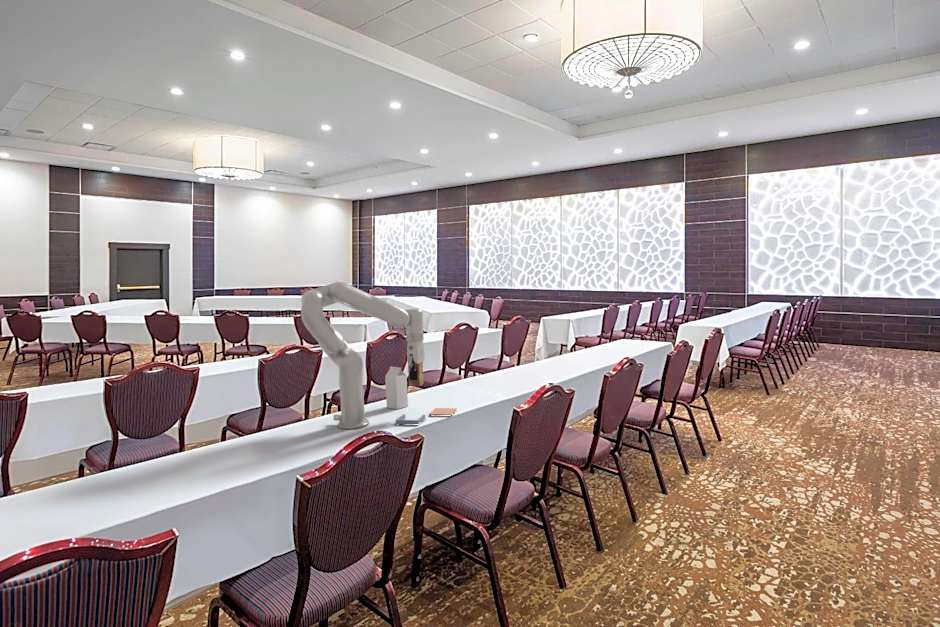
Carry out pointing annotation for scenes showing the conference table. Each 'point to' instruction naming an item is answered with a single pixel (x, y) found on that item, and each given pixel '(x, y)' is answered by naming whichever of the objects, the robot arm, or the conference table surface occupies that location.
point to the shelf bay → (402, 421)
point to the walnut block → (419, 375)
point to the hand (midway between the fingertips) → (415, 378)
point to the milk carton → (396, 388)
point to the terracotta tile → (443, 411)
